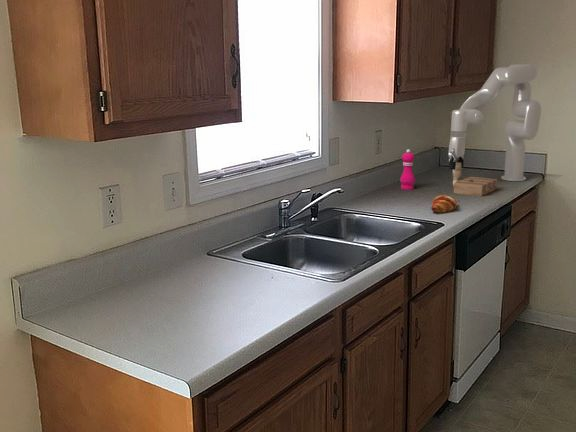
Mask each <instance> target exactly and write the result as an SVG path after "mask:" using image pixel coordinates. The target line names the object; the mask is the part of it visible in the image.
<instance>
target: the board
mask: <svg viewBox="0 0 576 432" xmlns="http://www.w3.org/2000/svg"><path fill="white" fill-rule="evenodd" d="M497 189H498V179H497V178H490V177H489V178H487V177H478V176H477V177H476V176H475V177H474V176H469V177H465V178H463V179H460V181H458V182H455V183H454V186H453V194H459V195H469V196H475V197H483V196H485V195H488V194H489V193H491V192H494V191H495V190H496V191H497Z"/></svg>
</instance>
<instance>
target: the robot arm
mask: <svg viewBox="0 0 576 432" xmlns="http://www.w3.org/2000/svg"><path fill="white" fill-rule="evenodd" d="M537 75H538V70H537V67H535V65H533V64H527V63H525V64H519V63H516V64H510V65H509V66H508V67H507V66H505V67H504V66H503V67H502V66H501V67H497V68H495V69H494V70H493V71H492V72H491V74H490V75H489V77H488V78H487V80H486V81H485V82H484V83H483V85H482V87H481V88H480V89H479V90H478V91H476V92H475V93H473V94H472V95H471V96H469V97H468V98H467V99H466V100H465V101H464V102H463V103H462V105H461V106H460V108H459V109H454V110H452V111H451V122H450V123H451V125H450V137H449V138H450V139H449V145H448V151H447V152H448V162H449V163H448V164H449V165H448V169H449V170H452V171H453V170H455V167H456V162H460V163H462V166H461V168H464V159H465V152H466V150H465V147H466V137H467V126H468V125H478V124H480V123H482V122H483V119H484V114H483V112H482V111H481V110H479V109H477V108H478V107H480V106H482V105H484V104H486V103H489V102H492V101H493V100H494V99H496V97H497V96H498V94H499V93H500V91H501V90H502V89H503V87H504V86H505V85H510V86H513V97H512V102H511V103H512V104H511V107H510V108H511V109H510V110H511V111H510V112H511V114H512V116H514V117H516V118H523V119H524V120H522V119H513V120H511V119H510V121H508V122H507V123H506V125H505V127H504V131H505V141H506V143H505V146H506V147H505V158H504V159H505V161H504V175H501V177H500V179H501V180H502V181H507V182H523V181H526V180H527V177H526V176H524V171H525V156H526V155H525V154H526V153H525V152H526V144H525V140H528V141H529V140H533V139H534V138H536V136H537V134H538V131H539V127H540V122H541V116H542V105H541V104H540V102H539V101H537V100H535V99H531V96H532V86H531V83H530V82H532V81H534V80H535V78H537ZM456 159H457V160H456Z"/></svg>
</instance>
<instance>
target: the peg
mask: <svg viewBox="0 0 576 432" xmlns="http://www.w3.org/2000/svg"><path fill="white" fill-rule="evenodd" d="M455 162H456V167H455V170H452V187H454V183H455V182H458V181H460V180H461V177H462V167H461V166H462V163H460V162H457V161H455Z"/></svg>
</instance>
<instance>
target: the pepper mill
mask: <svg viewBox="0 0 576 432" xmlns="http://www.w3.org/2000/svg"><path fill="white" fill-rule="evenodd" d="M401 159H402V161H403V162H402V166H403V172H402V173H401V176H400V180H399V181H400V183H401V185H400V188H401V190H405V191H407V190H408V191H410V190H414V188H415V187H414V186H415V185H414V183H415V182H416V179H415V175H414V173H413V165H414V162H413V161H414V159H415V154H413V153H412V152H411V150H410V149H406V152H404V153H403V154H402V155H401Z"/></svg>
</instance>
